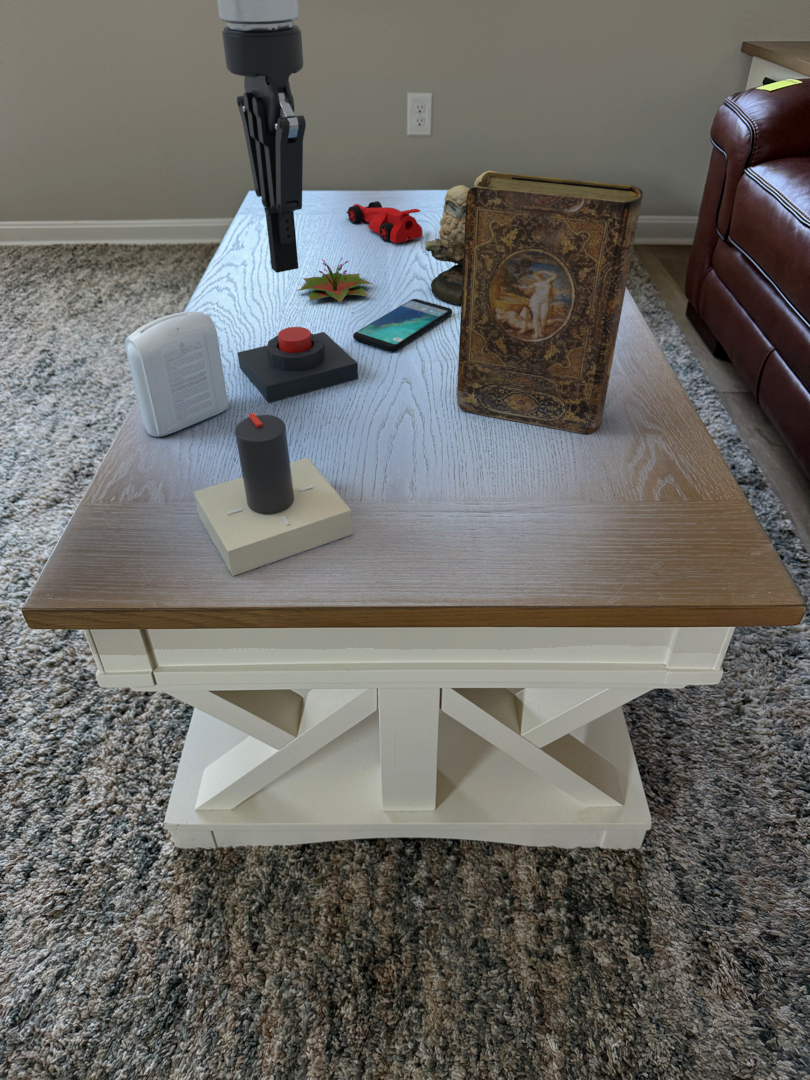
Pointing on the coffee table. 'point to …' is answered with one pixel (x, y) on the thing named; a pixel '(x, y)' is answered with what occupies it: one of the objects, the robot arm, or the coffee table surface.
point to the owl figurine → (451, 244)
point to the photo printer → (177, 371)
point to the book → (543, 297)
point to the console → (273, 520)
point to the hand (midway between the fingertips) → (285, 268)
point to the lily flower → (334, 284)
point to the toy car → (387, 221)
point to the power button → (294, 339)
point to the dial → (265, 463)
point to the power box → (297, 367)
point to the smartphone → (402, 324)
